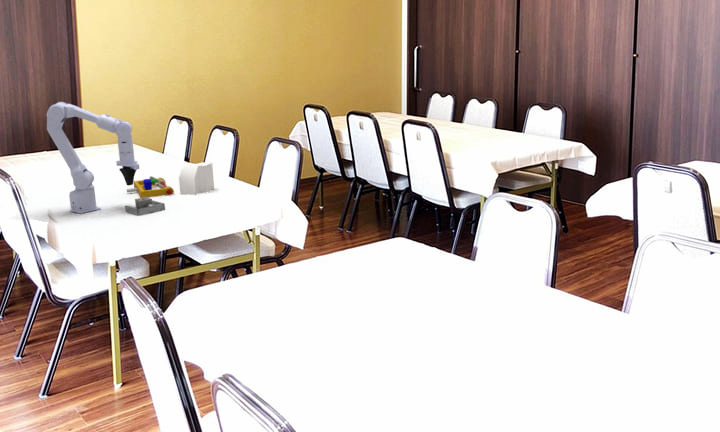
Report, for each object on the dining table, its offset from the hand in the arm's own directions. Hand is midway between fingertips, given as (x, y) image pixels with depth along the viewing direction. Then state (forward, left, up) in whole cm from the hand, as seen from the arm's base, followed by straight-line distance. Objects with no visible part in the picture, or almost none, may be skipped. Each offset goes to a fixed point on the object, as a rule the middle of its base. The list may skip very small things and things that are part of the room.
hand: (129, 184), depth 316 cm
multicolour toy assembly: (+21, +22, -10) cm, 32 cm away
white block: (+33, +2, -10) cm, 34 cm away
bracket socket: (0, -10, -9) cm, 13 cm away
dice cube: (0, -10, -10) cm, 14 cm away
